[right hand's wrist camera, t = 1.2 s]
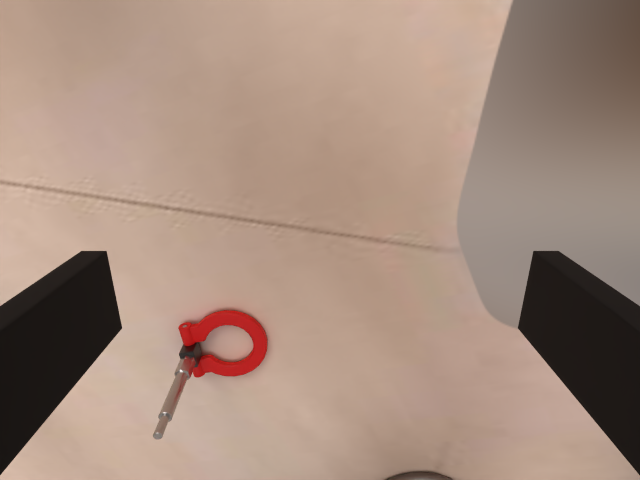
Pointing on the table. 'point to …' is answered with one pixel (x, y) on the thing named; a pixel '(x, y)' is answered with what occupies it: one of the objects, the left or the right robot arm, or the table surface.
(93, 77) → the table surface
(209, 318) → the tow hook
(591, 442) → the table surface
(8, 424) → the right robot arm
